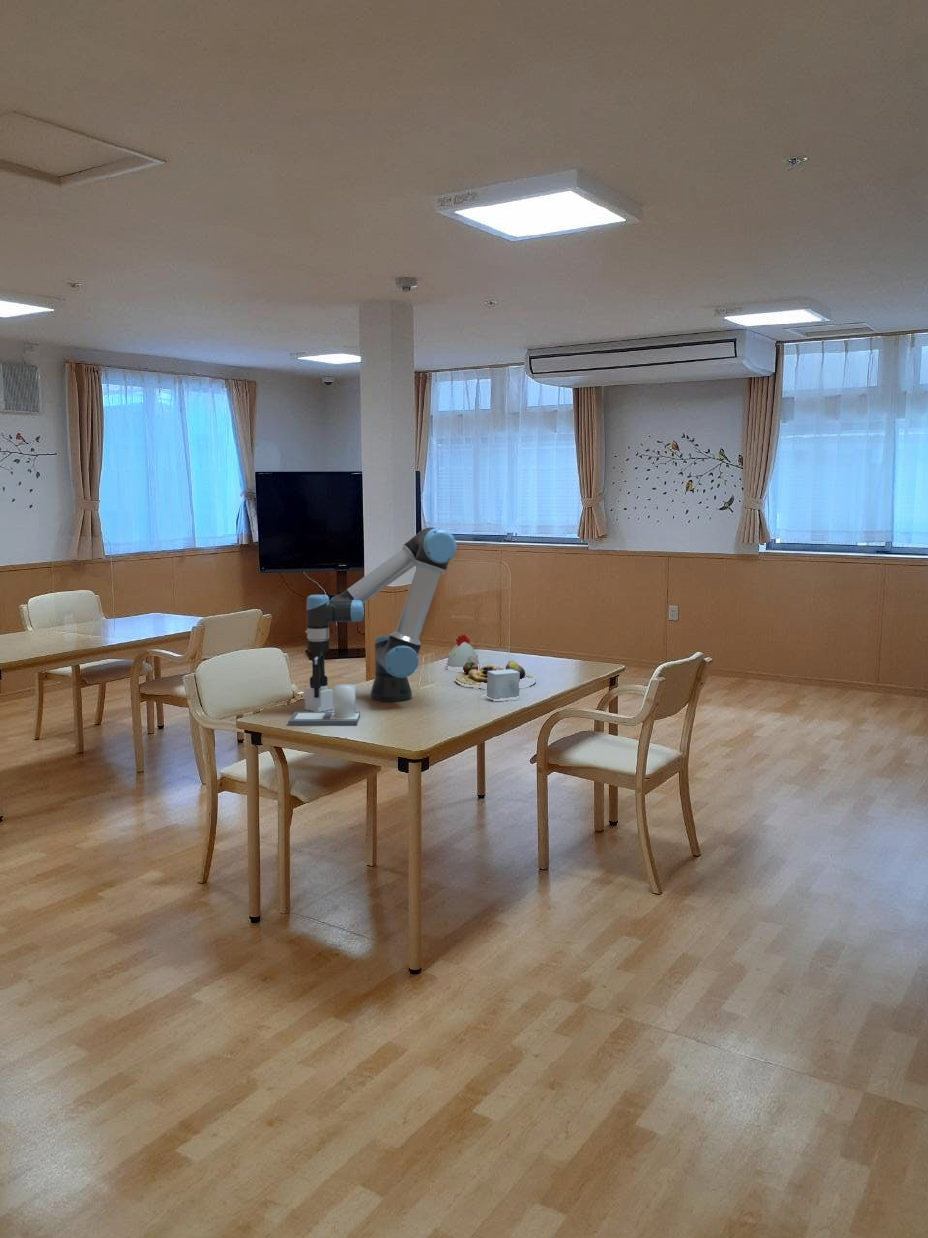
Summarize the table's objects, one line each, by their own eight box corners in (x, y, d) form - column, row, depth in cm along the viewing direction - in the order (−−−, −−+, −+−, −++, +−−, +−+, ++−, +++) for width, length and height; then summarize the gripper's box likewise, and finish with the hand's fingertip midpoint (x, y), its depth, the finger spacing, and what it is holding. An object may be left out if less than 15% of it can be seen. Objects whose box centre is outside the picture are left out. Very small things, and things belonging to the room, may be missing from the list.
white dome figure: (440, 669, 431) (440, 634, 429) (461, 665, 442) (461, 631, 440) (465, 673, 422) (465, 638, 420) (486, 669, 433) (486, 634, 431)
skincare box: (494, 702, 366) (494, 673, 364) (486, 699, 372) (486, 670, 370) (520, 700, 370) (520, 671, 369) (511, 696, 376) (512, 668, 375)
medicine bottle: (333, 709, 353) (333, 675, 351) (317, 712, 347) (317, 678, 346) (320, 706, 357) (319, 673, 356) (304, 709, 352) (303, 675, 351)
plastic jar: (356, 713, 339) (356, 684, 338) (354, 718, 332) (354, 688, 331) (335, 713, 339) (335, 684, 338) (333, 718, 332) (332, 688, 331)
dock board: (360, 716, 343) (360, 711, 343) (356, 725, 329) (356, 720, 329) (294, 716, 342) (294, 711, 342) (288, 725, 329) (288, 720, 328)
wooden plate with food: (439, 681, 407) (439, 661, 406) (501, 672, 426) (501, 652, 424) (488, 696, 381) (488, 674, 380) (552, 685, 400) (552, 665, 399)
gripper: (311, 635, 360) (312, 696, 363) (302, 644, 338) (303, 710, 341) (332, 635, 361) (333, 696, 363) (325, 644, 338) (326, 710, 341)
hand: (318, 703), depth 352 cm, fingers closed on medicine bottle, 10 cm apart
